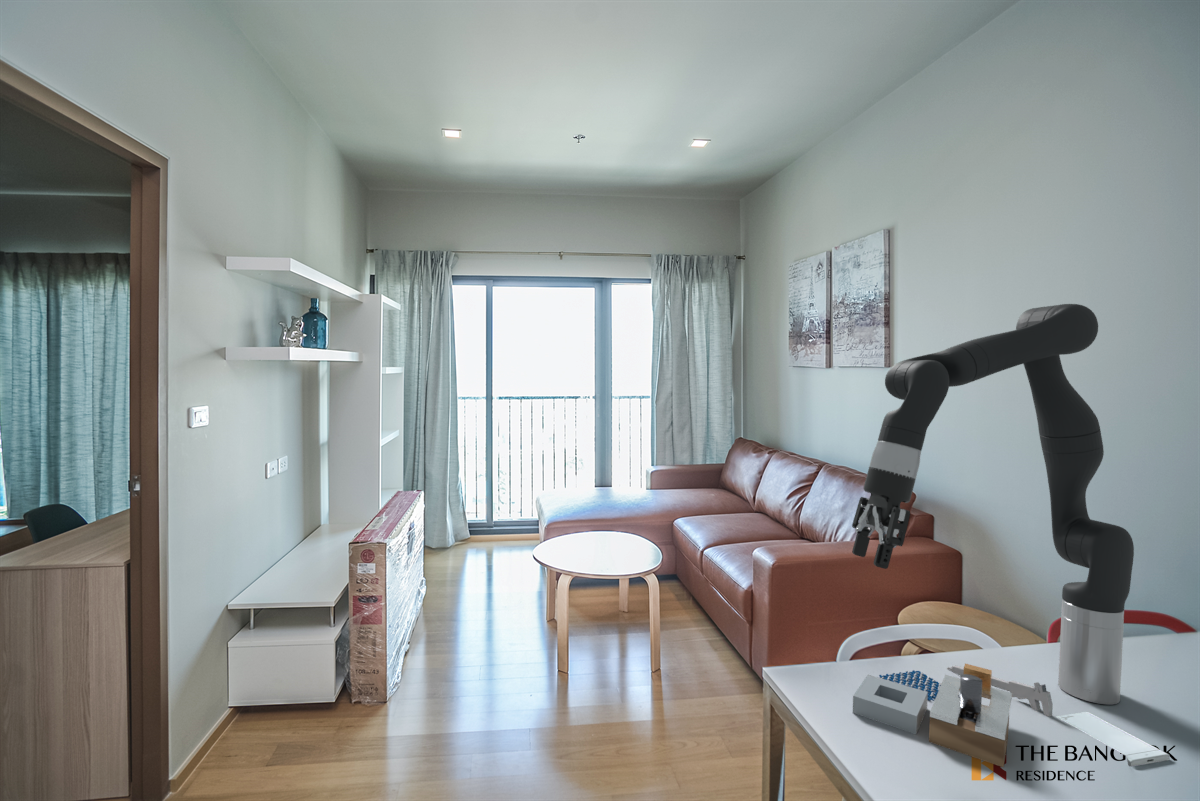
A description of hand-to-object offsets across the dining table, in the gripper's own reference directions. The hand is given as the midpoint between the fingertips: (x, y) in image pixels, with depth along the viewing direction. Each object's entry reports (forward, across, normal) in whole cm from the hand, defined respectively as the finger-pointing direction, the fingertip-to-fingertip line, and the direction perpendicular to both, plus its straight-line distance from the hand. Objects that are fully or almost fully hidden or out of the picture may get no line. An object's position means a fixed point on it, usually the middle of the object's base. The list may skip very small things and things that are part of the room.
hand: (868, 561), depth 104 cm
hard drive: (+18, -3, -45) cm, 48 cm away
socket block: (+24, -6, -20) cm, 32 cm away
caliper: (+19, +12, -35) cm, 42 cm away
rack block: (+26, +2, -12) cm, 28 cm away
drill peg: (+23, -6, -20) cm, 31 cm away
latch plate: (+18, -4, -21) cm, 28 cm away
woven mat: (+23, +12, -21) cm, 33 cm away
